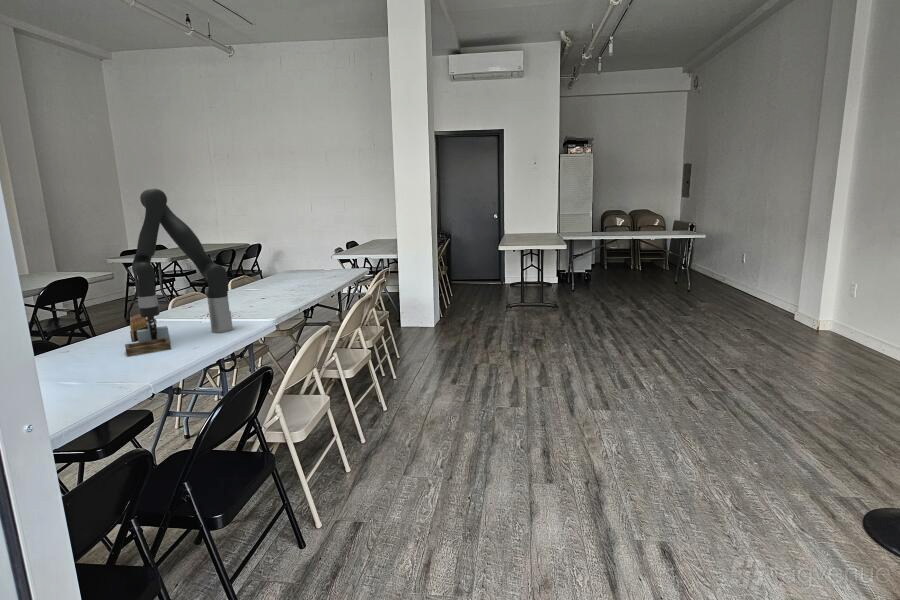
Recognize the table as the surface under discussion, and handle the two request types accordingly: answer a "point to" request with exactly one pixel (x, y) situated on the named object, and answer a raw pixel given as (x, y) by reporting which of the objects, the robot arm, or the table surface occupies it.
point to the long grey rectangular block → (161, 331)
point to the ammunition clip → (137, 326)
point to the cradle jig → (147, 347)
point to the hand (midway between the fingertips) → (154, 341)
